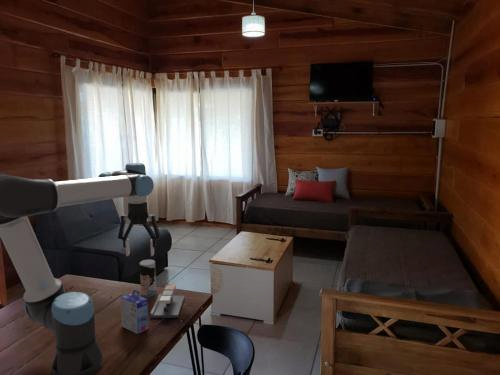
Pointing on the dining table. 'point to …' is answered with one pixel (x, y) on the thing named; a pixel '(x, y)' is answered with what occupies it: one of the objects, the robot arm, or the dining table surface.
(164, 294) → the key grey
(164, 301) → the key cream
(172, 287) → the key terracotta
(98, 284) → the dining table surface
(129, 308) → the ink cartridge box
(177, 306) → the keypad board
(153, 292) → the printed cylindrical canister
